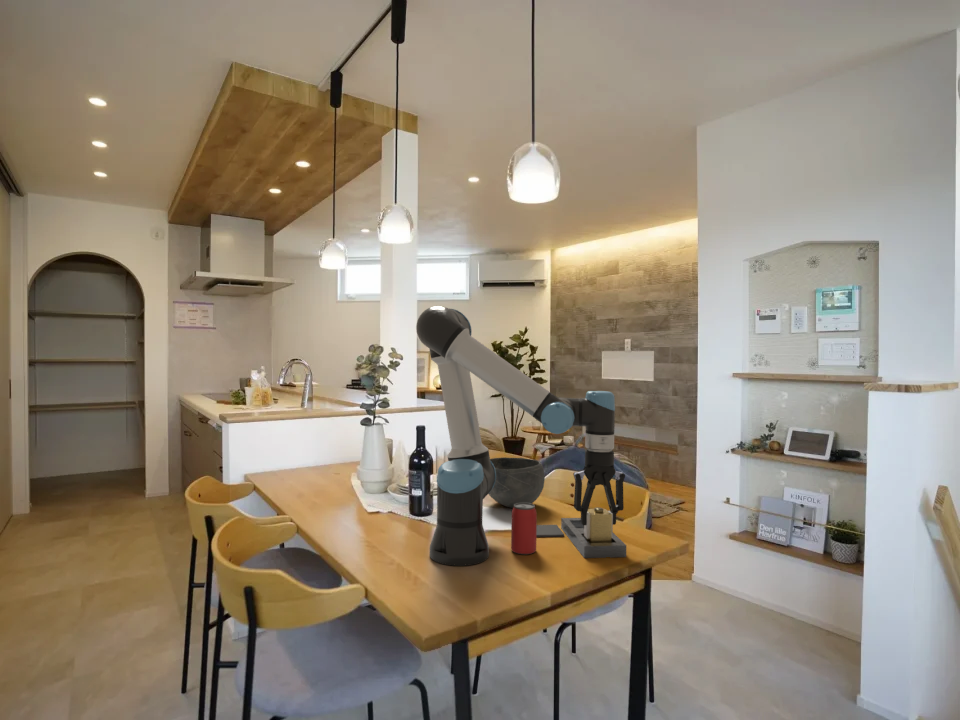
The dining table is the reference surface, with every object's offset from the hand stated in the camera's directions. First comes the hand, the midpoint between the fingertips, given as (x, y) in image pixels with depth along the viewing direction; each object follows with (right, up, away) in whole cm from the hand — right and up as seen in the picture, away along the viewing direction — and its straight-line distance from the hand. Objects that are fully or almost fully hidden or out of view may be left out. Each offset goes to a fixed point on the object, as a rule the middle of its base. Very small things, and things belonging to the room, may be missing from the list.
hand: (598, 536), depth 147 cm
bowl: (-20, -3, +41) cm, 46 cm away
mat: (-12, -3, +14) cm, 19 cm away
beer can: (-20, -3, -2) cm, 20 cm away
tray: (-1, -3, +6) cm, 7 cm away
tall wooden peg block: (0, -3, 0) cm, 3 cm away
